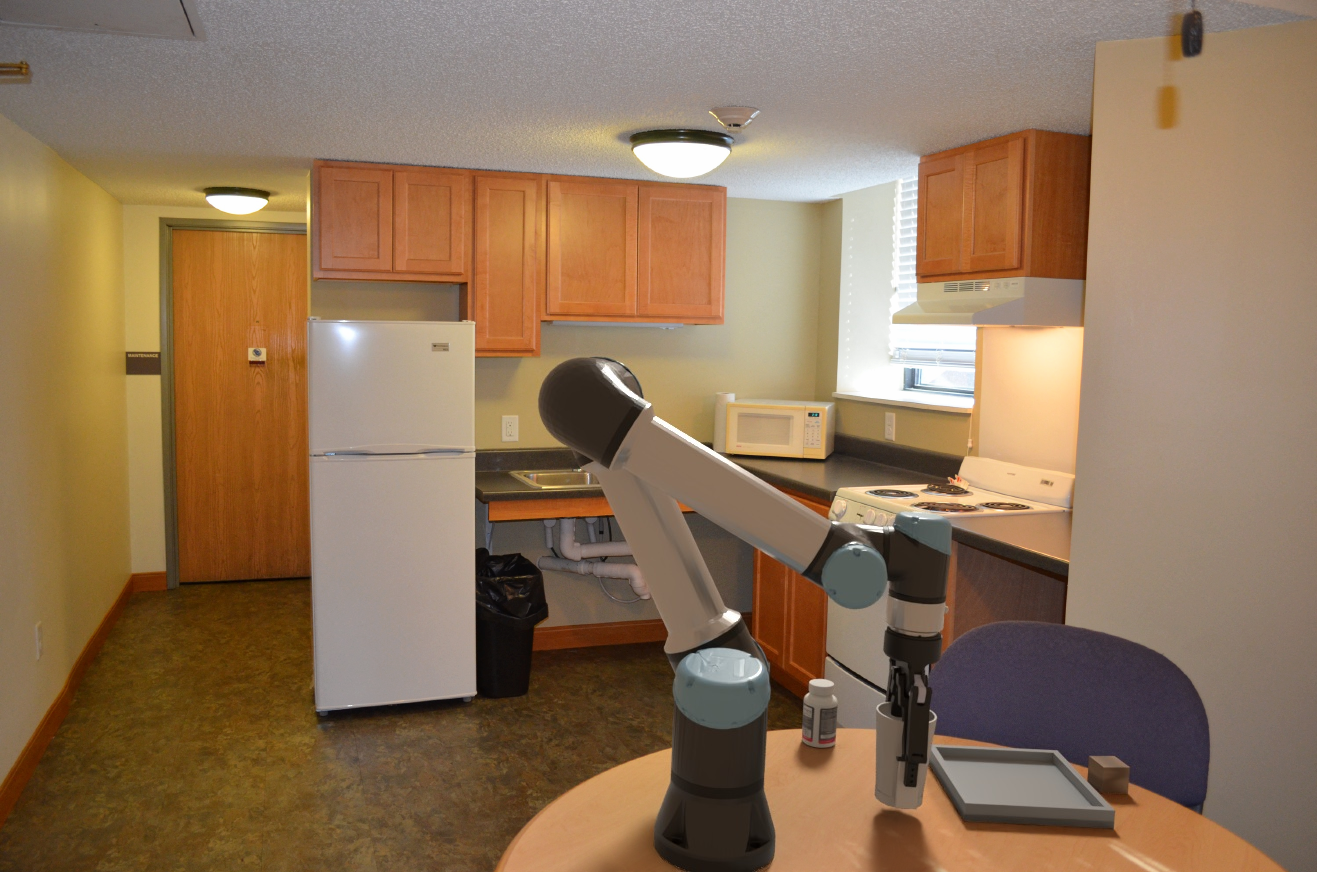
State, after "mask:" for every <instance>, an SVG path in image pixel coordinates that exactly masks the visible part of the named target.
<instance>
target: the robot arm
mask: <svg viewBox="0 0 1317 872" xmlns="http://www.w3.org/2000/svg"><path fill="white" fill-rule="evenodd" d="M644 397H645V396H644V393H643V387H642V386H641V383H640V380H639V379H638V378H637V376H636V375H635V374H634V373H633V372H632V371H631V369H630V368H628V367H627V366H626V365H625V364H624V363H622V362H619V361H617V360H616V359H612V358H609V357H606V356H589V357H587V356H586V357H585V356H583V357H574V358H570V359H567V360H565V361H562V362H561V363H559V364H557V365H556V366H555V367H554V368H552V369H551V370H550V371H549V372H548V374H547V375H546V376H545V378H544V379H543V381H542V383H541V385H540V388H539V393H538V398H537V403H538V405H537V409H538V414H539V416H540V417H539V418H540V420H541V422H542V424H543V426H544V427H545V429H546V430H547V432H548V433H549V434H550V435H551V436H552V437H553V438H554V439H555V440H557V441H558V442H559V443H561V444H562V445H564V446H566V447H568V448H570V449H571V452H572V453H573V456H574V458H575V460H576V463H577V464H578V466H579V469H581V470H582V471H584V472H587V473H589V474H592V475H594V476H595V478H596V479H597V482H598V483H599V485H600V487H601V489H602V492H603V494H604V496H605V498H606V501H607V502H608V505H609V507H610V509H611V511H612V513H613V515H614V518H615V520H616V522H617V524H618V527H619V529H620V531H621V533H622V536H623V537H624V539H625V541H626V543H627V545H628V548H629V550H630V552H631V554H632V556H633V559H634V560H635V561H634V562H635V563H636V565H637V568H638V570H639V572H640V574H641V576H642V579H643V580H644V583H645V585H646V587H647V588H648V590H649V594H650V596H651V597H652V600H653V602H654V604H655V607H656V609H657V610H658V612H659V615H660V617H661V620H662V621H663V623H664V626H665V628H666V630H667V635H668V636H667V638H666V640H665V645H664V646H663V650H664V653H665V654H666V656H667V658H668V659H667V660H668V661H669V663H670V665H671V668H672V671H673V673H674V674H675V676H674V679H673V684H672V694H673V716H672V718H673V719H672V736H671V737H672V740H671V761H670V781H669V784H668V787H667V790H666V793H665V795H664V797H663V800H662V802H661V805H660V807H659V810H658V813H657V816H656V819H655V821H654V826H653V827H654V830H653V845H654V848H655V851H656V853H658V855H659V856H660V857H661V858H662V859H663V860H664V861H666V862H667V863H669V864H670V865H672V866H674V867H676V868H679V869H680V870H683V871H686V872H756V871H758V870H760V869H763V868H764V867H766V866H768V865H769V863H770V862H771V861H772V859H773V858H774V856H775V851H776V838H777V837H776V836H777V835H776V829H775V825H774V822H773V819H772V814H771V811H770V810H771V809H770V807H769V806H770V805H769V802H768V799H767V795H766V792H765V773H766V771H765V770H766V753H767V739H768V736H767V735H768V734H767V733H768V718H769V717H768V715H769V703H770V701H771V700H770V699H771V690H772V689H771V683H770V671H769V668H770V667H769V663H768V660H767V657H766V654H765V652H764V651H763V648H762V647H761V646H760V645H759V643H758V642H757V641H756V640H755V639H754V638H753V636H752V635H751V634H750V631H749V629H748V626H747V625H746V622H745V621H744V619H743V617H742V615H741V613H740V612H739V611H737V610H734V609H732V608H728V607H727V606H725V603H724V601H723V599H722V597H721V595H720V592H719V591H718V587H716V584H715V582H714V579H713V577H712V575H711V573H710V571H709V568H708V567H707V564H706V562H705V560H704V558H703V555H702V553H701V552H700V550H699V547H698V545H697V543H696V541H695V540H696V539H694V538H695V537H694V536H693V533H692V532H691V529H690V527H689V525H688V523H687V521H686V519H685V517H684V515H683V512H682V510H681V508H680V506H679V503H680V504H681V505H684V506H686V507H687V508H689V509H691V510H692V511H694V512H696V513H697V514H699V515H701V516H702V517H704V518H706V519H707V520H709V521H711V522H712V523H713V524H716V525H718V526H719V527H720V528H722V529H724V530H725V531H727V532H729V533H731V534H732V535H733V536H736V537H737V538H739V539H741V540H742V541H743V542H745V543H748V544H749V545H751V546H752V547H754V548H755V549H757V550H759V551H760V552H763V553H764V554H766V555H767V556H769V557H771V558H772V559H774V560H775V561H778V562H779V563H780V564H782V565H784V566H786V567H787V568H789V569H790V570H793V571H794V572H796V573H797V574H798V575H800V576H801V577H804V578H805V579H806V580H808V581H809V582H810V583H813V584H814V585H816V586H818V587H819V588H821V589H822V590H824V592H825V593H826V595H827V596H828V597H829V598H830V599H831V600H832V601H833V602H834V603H836V605H838V606H841V607H842V608H845V609H849V610H863V609H866V608H869V607H871V606H872V605H875V604H876V603H877V602H878V601H879V600H880V599H881V597H882V596H884V594H885V591H886V590H887V589H886V588H887V585H888V592H887V599H886V610H885V622H886V624H887V626H886V627H885V629H884V636H883V646H882V647H883V648H882V651H883V653H884V655H885V656H887V657H888V658H889V659H888V662H889V663H888V664H889V666H888V667H889V668H888V669H889V670H888V678H887V686H886V693H885V701H884V703H885V702H892V705H891V715H893V716H895V717H899V718H902V721H903V722H904V726H903V734H902V756H901V757H900V756H896V759H897V761H899V765H898V776H897V786H896V797H895V807H896V809H899V808H904V809H903V810H917V809H918V808H917V801H918V790H919V780H920V769H921V764H926V763H927V750H928V732H929V714H930V710H931V702H932V695H933V688H932V686H929V675H928V674H926V667H927V666H929V665H934V664H937V663H938V662H939V661H940V660H941V658H942V650H943V634H942V633H941V631H943V629H944V624H945V623H944V622H945V614H948V613H949V610H950V608H949V606H948V605H946V602H947V594H948V593H947V592H948V584H949V574H950V564H951V557H952V554H953V551H952V533H953V526H952V525H953V524H952V523H951V521H950V520H949V519H948V518H947V517H945V516H944V515H940V514H937V513H936V514H935V513H931V512H924V511H909V510H905V511H900V512H898V513H897V514H896V515H895V518H894V522H892V525H889V524H888V525H877V524H876V525H873V524H867V523H866V524H864V523H856V522H846V521H845V522H843V521H834V520H833V519H827V517H824V516H823V515H821V514H820V513H818V512H816V511H815V510H813V509H811V508H809V507H807V506H806V505H804V504H803V503H801V502H799V501H798V500H796V499H794V498H792V497H791V496H789V495H788V494H786V493H784V492H782V491H781V490H779V489H777V487H774V486H773V485H771V484H769V483H768V482H766V481H764V480H763V479H761V478H759V477H758V476H756V475H754V474H753V473H751V472H749V471H748V470H746V469H744V468H743V467H741V466H739V465H738V464H736V463H734V462H733V461H731V460H730V459H728V458H726V457H724V456H723V455H721V454H719V453H718V452H716V451H715V450H712V449H711V448H710V447H708V446H706V445H704V444H703V443H701V442H700V441H698V440H696V439H694V438H693V437H691V436H689V435H688V434H686V433H684V432H683V431H681V430H679V429H678V428H676V427H674V426H673V425H671V424H669V423H668V422H666V421H664V420H663V419H661V418H659V417H657V416H656V414H655V411H654V407H653V403H650V402H649V401H647V400H646V399H645V398H644ZM678 502H679V503H678Z"/></svg>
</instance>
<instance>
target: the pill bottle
mask: <svg viewBox="0 0 1317 872" xmlns="http://www.w3.org/2000/svg"><path fill="white" fill-rule="evenodd" d="M808 691H809V692H808V693H806V694H805V695H804V697H803V707H802V709H803V710H802V727H801V728H802V729H801V739H802V742H803V743H804V744H805V745H807V746H809V747H811V748H812V747H813V748H821V749H822V748H824V749H825V748H831V747H833V746H835V744H836V742H837V741H836V738H837V737H836V736H837V724H838V723H837V722H838V721H837V720H838V706H839V705H838V702H839V701H838V698H837V697H836V696H835V695H834V693H835V683H834V682H833V681H831V680H829V679H825V678H824V679H823V678H816V679H815V678H814V679H811V680H809V682H808Z"/></svg>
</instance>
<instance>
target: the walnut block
mask: <svg viewBox="0 0 1317 872" xmlns="http://www.w3.org/2000/svg"><path fill="white" fill-rule="evenodd" d="M1130 769H1131V767H1130V766H1129V765H1127V764H1126V763H1125V762H1123V761H1122V760H1120V759H1119V758H1118V757H1116V756H1115V755H1089V756H1088V766H1087V780H1086V781H1087V782H1088V783H1089V784H1090V785H1091V786H1092V787H1093V788H1094V789H1095V790H1096V791H1097V792H1098V793H1100V794H1129V783H1130V772H1131V770H1130Z"/></svg>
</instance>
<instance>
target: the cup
mask: <svg viewBox="0 0 1317 872" xmlns="http://www.w3.org/2000/svg"><path fill="white" fill-rule="evenodd" d="M891 705H892V702H885V701H884V702H881V703H879V704H877V706H876V707H875V729H876V730H875V731H876V732H875V785H874V798H875V799H876V800H878V802H880V803H881V804H884V805H886V806H888V807H891V808H896V807H895V797H896V786H897V776H898V765H899V761H897V759H896V756H900V757H901V756H902V734H903V726H904V722H903V721H902V718H899V717H895V716H893V715H891ZM937 720H938V716H937V714H936V713H935V712H934V711H933V710H931V709H930V714H929V732H928V750H927V763H926V764H921V769H920V780H919V790H918V801H917V809H918V808H920V807H921V806H922V805H923V799H924V793H925V792H924V791H925V786H926V780H927V774H928V769H929V758H930V753H931V747H932V744H933V740H934V736H935V731H936V726H937ZM896 809H897V808H896ZM899 809H900V810H905V809H904V808H898V810H899Z"/></svg>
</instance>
